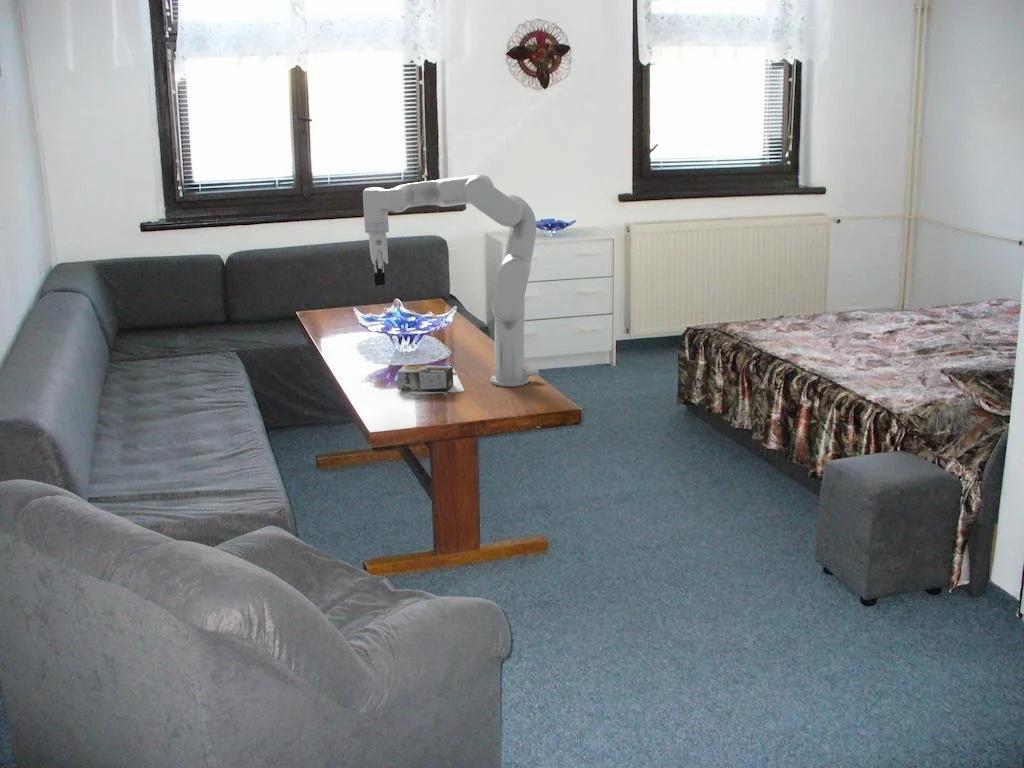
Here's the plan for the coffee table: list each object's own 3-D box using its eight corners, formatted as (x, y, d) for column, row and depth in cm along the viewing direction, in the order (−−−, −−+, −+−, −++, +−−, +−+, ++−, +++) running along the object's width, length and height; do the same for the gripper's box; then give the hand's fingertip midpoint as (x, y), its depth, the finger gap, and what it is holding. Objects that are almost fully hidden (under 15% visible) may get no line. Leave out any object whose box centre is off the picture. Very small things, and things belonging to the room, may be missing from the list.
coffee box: (397, 390, 350) (446, 392, 347) (396, 370, 349) (446, 373, 346) (405, 383, 359) (453, 385, 356) (404, 364, 357) (453, 366, 354)
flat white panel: (456, 376, 367) (456, 375, 367) (464, 391, 350) (464, 390, 350) (405, 379, 365) (405, 377, 364) (410, 394, 348) (410, 393, 348)
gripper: (390, 230, 343) (393, 288, 349) (386, 223, 358) (389, 279, 363) (366, 231, 342) (369, 289, 347) (363, 224, 356) (366, 281, 361)
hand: (379, 284), depth 355 cm, fingers closed
